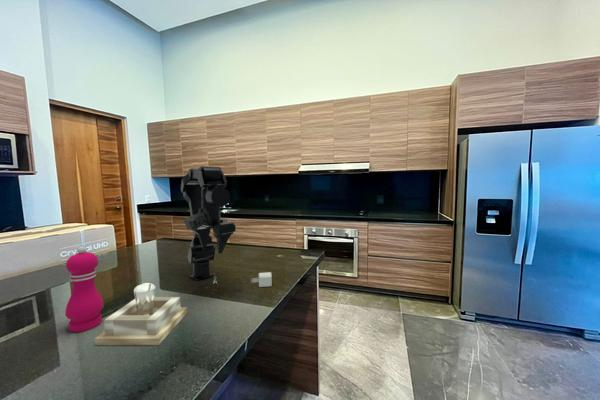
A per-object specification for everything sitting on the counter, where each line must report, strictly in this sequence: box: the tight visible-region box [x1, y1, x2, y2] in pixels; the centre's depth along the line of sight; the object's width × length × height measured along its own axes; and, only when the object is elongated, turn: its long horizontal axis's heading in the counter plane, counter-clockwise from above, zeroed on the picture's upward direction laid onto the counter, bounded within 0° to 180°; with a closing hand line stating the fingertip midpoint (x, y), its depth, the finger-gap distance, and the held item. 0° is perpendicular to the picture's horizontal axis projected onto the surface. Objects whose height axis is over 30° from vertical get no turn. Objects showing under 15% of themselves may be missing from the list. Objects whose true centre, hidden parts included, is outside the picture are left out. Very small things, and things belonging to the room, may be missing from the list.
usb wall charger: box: [250, 271, 273, 288], centre depth 87 cm, size 4×7×4 cm, turn 100°
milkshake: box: [133, 282, 156, 315], centre depth 62 cm, size 4×5×10 cm
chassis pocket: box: [94, 296, 188, 346], centre depth 62 cm, size 14×14×5 cm
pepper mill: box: [64, 246, 104, 333], centre depth 62 cm, size 7×7×20 cm
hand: (212, 251), depth 83 cm, fingers open, 9 cm apart
